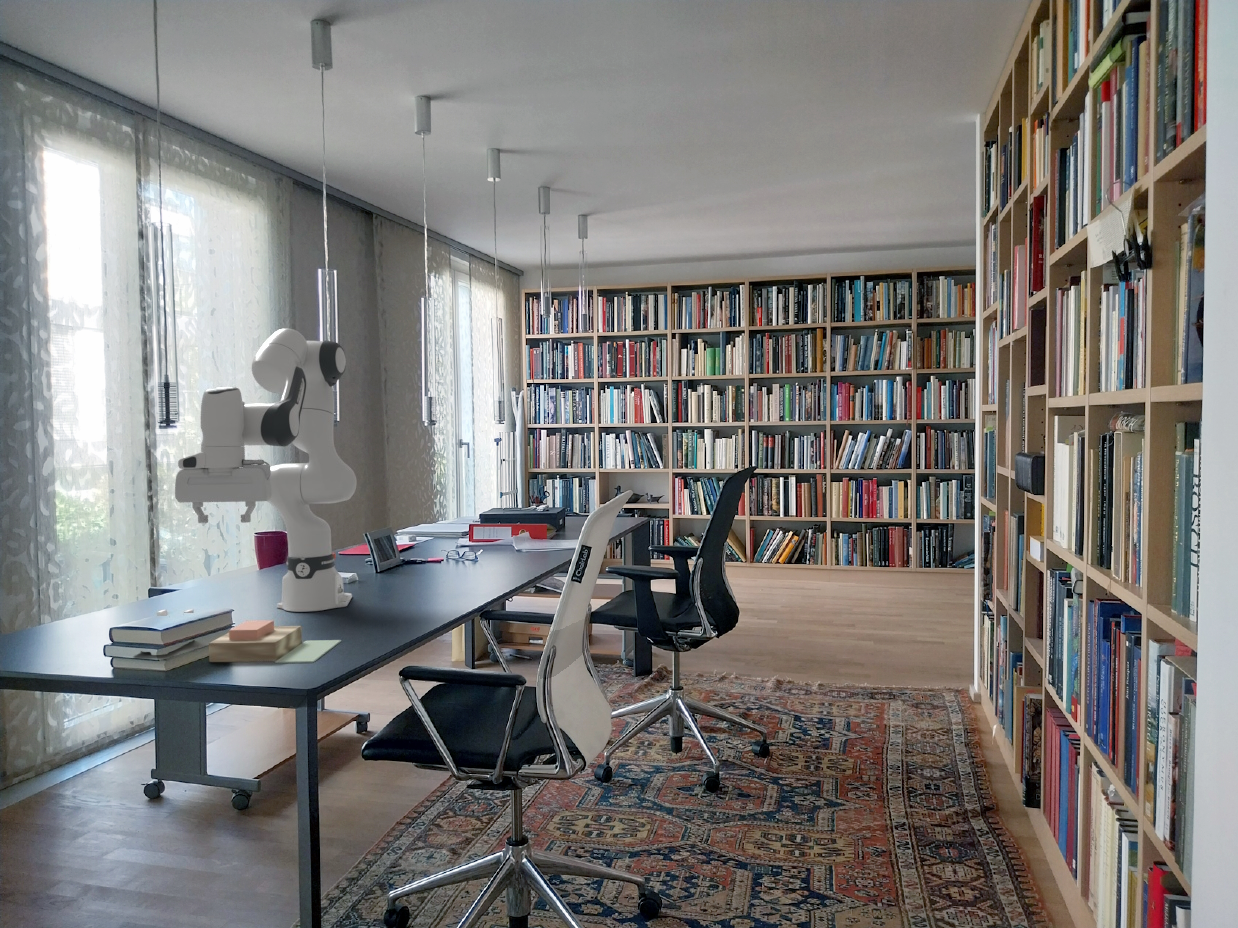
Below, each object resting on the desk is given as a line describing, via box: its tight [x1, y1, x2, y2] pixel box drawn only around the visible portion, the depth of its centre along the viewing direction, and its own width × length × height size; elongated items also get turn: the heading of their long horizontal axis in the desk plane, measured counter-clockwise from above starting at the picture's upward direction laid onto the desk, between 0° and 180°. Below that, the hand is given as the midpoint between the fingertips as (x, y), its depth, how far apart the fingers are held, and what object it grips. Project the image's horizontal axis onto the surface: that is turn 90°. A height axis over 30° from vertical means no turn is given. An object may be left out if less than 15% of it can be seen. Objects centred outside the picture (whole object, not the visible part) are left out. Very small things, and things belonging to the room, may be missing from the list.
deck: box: [208, 625, 303, 663], centre depth 196 cm, size 15×14×4 cm
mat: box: [274, 639, 342, 664], centre depth 196 cm, size 18×8×1 cm, turn 179°
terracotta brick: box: [228, 620, 275, 640], centre depth 196 cm, size 9×6×2 cm, turn 179°
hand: (224, 522), depth 199 cm, fingers open, 8 cm apart
